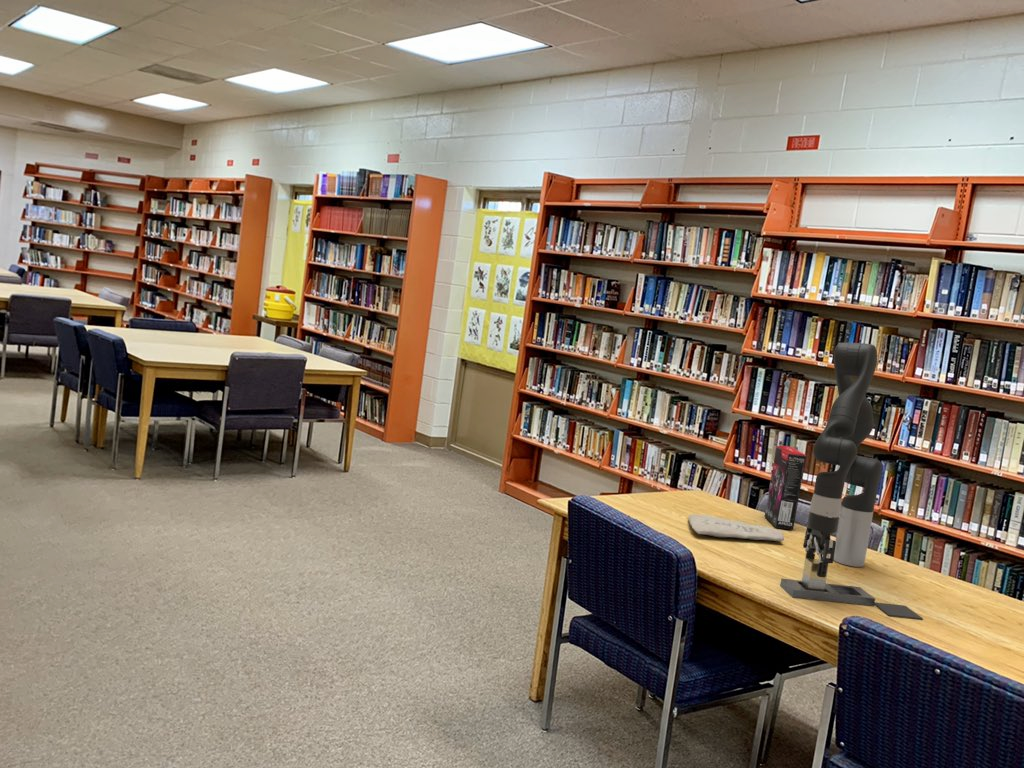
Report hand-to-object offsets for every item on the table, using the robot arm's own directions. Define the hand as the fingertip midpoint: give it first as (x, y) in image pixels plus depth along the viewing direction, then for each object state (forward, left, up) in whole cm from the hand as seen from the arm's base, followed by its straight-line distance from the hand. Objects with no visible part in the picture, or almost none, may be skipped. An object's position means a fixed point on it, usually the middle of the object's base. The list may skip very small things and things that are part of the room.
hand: (814, 571), depth 229 cm
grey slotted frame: (0, +4, -6) cm, 8 cm away
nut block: (0, 0, -6) cm, 6 cm away
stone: (-55, -4, -7) cm, 55 cm away
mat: (+7, +20, -6) cm, 22 cm away
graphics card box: (-78, +19, -6) cm, 81 cm away
